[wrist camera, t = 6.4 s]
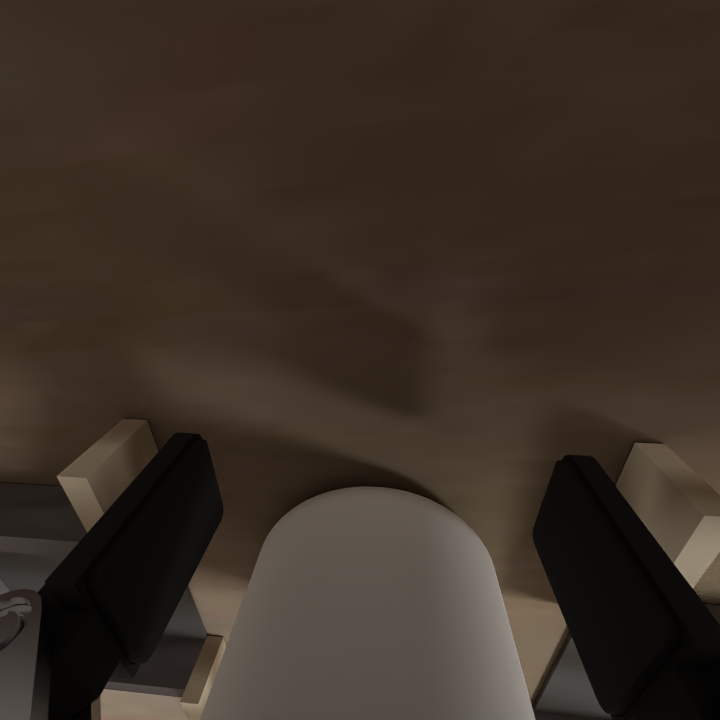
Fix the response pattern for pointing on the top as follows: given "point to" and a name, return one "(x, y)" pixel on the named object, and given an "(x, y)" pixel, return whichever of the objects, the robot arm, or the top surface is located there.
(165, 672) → the box
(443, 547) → the cup
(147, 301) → the top surface
